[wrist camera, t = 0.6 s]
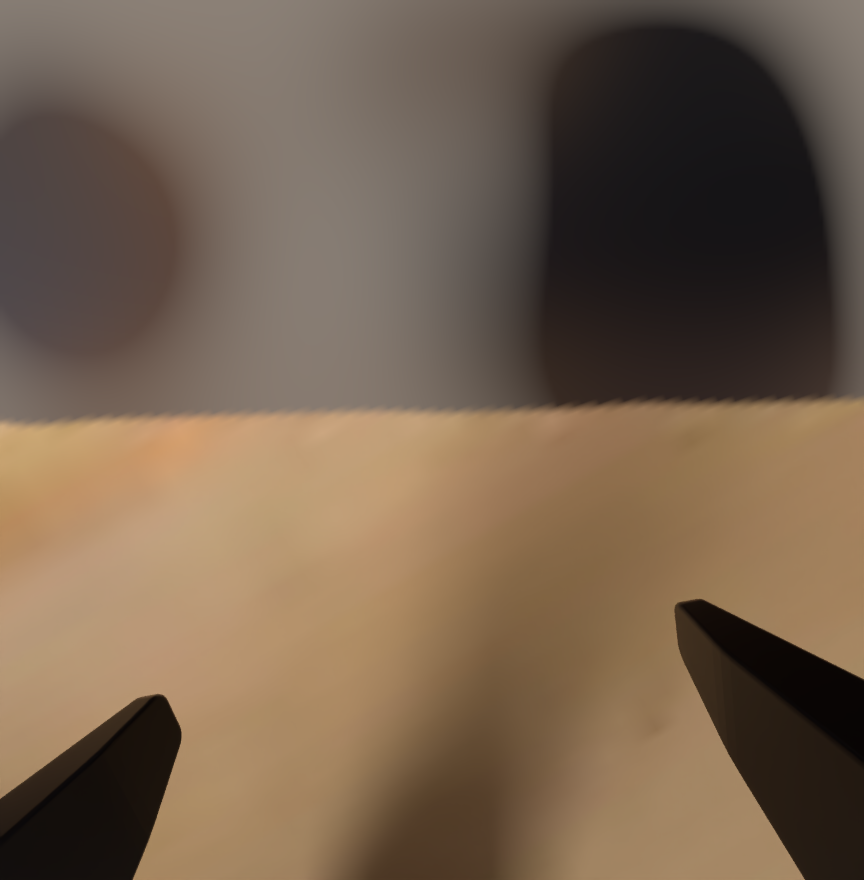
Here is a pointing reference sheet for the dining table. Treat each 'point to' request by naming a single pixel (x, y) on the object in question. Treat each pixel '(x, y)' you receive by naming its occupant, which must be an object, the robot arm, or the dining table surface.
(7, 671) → the dining table surface
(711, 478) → the dining table surface
